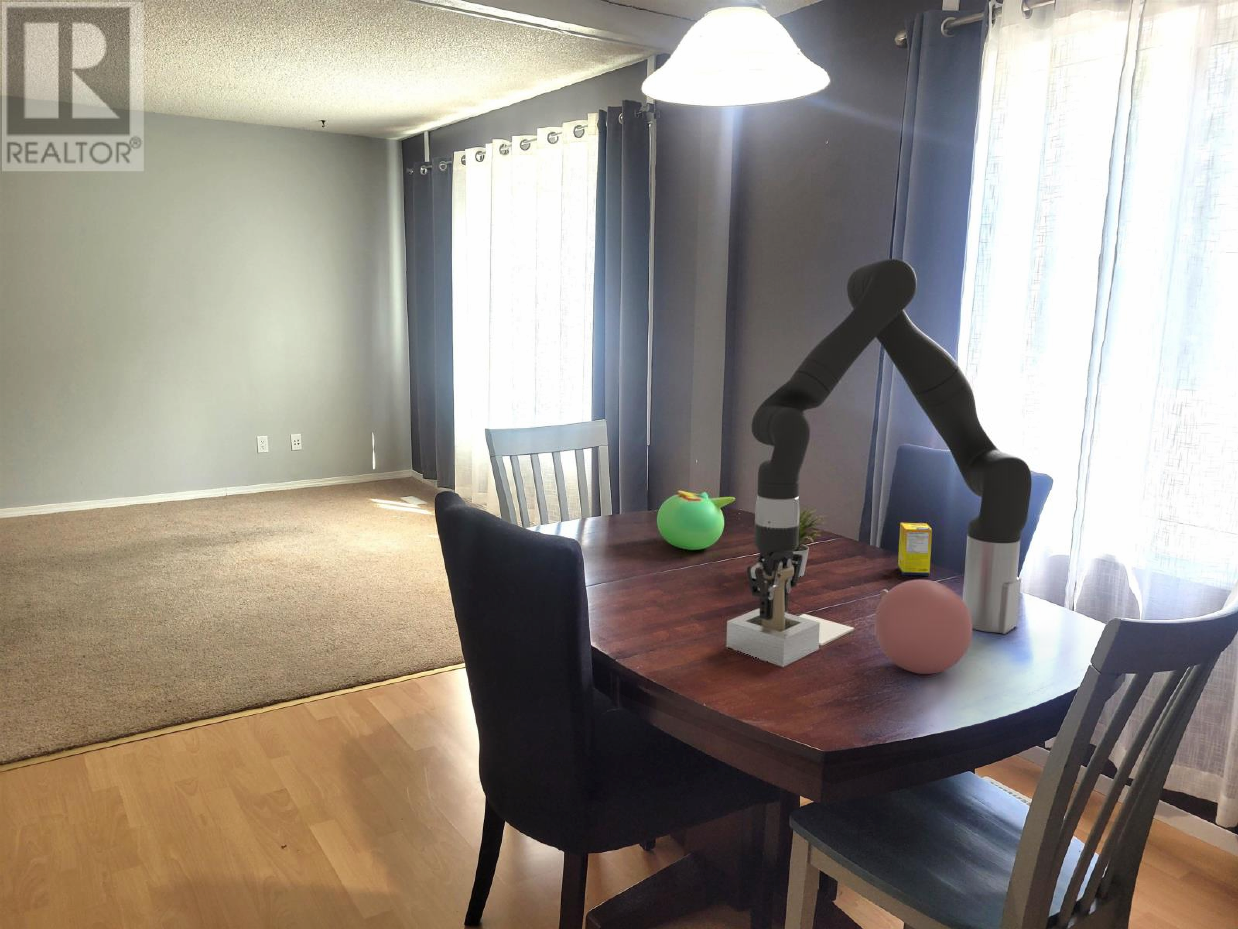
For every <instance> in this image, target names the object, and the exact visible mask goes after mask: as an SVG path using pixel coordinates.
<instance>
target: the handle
mask: <svg viewBox="0 0 1238 929" xmlns="http://www.w3.org/2000/svg"><path fill="white" fill-rule="evenodd" d="M763 573H765V571H764V570H763ZM773 574H774V571H773ZM773 574H772V576H768V575H767V574H766V573H765V576H764V579H765V580H767V581H772V579H773ZM778 574H779V578H778V580H779V581H778V586H777V587H775V589H774V595H773V618H772V619H771V620H766V619H762V626H763V627H766V628H769V629H772V630H776V631H779V632H782V631H784V628H785V601H784V585H785V580H786V579H788V578H790V577H792V576H793V575H794V567H793V566H791V567H789V568H782V570H781V571H778ZM768 588H769V586H768V585H766V590H767V592H768Z"/></svg>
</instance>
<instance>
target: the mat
mask: <svg viewBox="0 0 1238 929" xmlns="http://www.w3.org/2000/svg"><path fill="white" fill-rule="evenodd" d="M798 616H799V617H802V618H806V619H809V620H813V621H816V622H820V630H819V646H824V645H826V644H829V643H830V642H832V641H835V640H836V639H837V640H838V639H839V638H840V637H843V636H844V635H848V634H849V633H851V632H853V631H854V630H855V627H852V626H848V625H845V624H842V623H839V622H834V621H831V620H827V619H823V618H821V617H817V616H813V615H809V614H806V613H803V614H800V615H798Z"/></svg>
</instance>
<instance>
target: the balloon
mask: <svg viewBox="0 0 1238 929" xmlns="http://www.w3.org/2000/svg"><path fill="white" fill-rule="evenodd" d="M879 592H880V594H879V595H878V597H877V598H878V601H879V604H878V605H877V608H876V611H875V614H874V619H873V620H874V622H873V626H874V628H873V629H874V634H875V638H876V642H877V643H878V646H879V647H880V650H882V652H883V653H884V655H885V656H886V657H887V658H888V659H889V660H890V661H891V662H892V663H893V664H895V665H896V666H898V667H900V668H902V669H904V670H905V671H908V672H911V673H914V674H915V673H916V674H920V675H929V674H938V673H940V672H944V671H946V670H949V669H950V668H952V667H954V666H955V665H956V664H957V663H958V662H960V661H961V660H962V659H963V657H964V656H965V654H967V652H968V649H969V647H970V645H971V641H972V637H973V628H972V621H971V617H970V614H969V611H968V609H967V607H966V605H965V604H964V602H963V598H961V597H960V596H959V595H958V594H957V593H956V592H955V591H954V590H953V589H951V588H950V587H948V586H946V585H944V584H942V583H941V582H938V581H934V580H929V579H913V580H912V579H911V580H906V581H904V582H901V583H899V584H897V585H896V586H894V587H892V588H891V589H890V590H887V589H886V588H885V589H881V590H880V591H879Z"/></svg>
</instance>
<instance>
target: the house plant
mask: <svg viewBox="0 0 1238 929" xmlns="http://www.w3.org/2000/svg"><path fill="white" fill-rule="evenodd" d="M808 507H809V505H806V506H805V508H804V509H803V510H802V511H801V512H800V513H799V537H798V547H797V549H795V550H793V553H797V554H800V555H802V556H803V558H802V563H801V567H800V572H799V576H798V578H801V577H803V576H804V574H805V571H806V565H807V560H808V557H809V556H808V554H809V552H810V551H809V550H810V547H809V546H807V545H805V544H804V543H805V542H806V541H807V540H810V541H811V542H812V543H813V544H814V539H813V537H817V536H819V537H821V535H820V534H821V533H820V530H813V529H812V530H807V529H809V528H813V527H816V526H819V525H825V524H827V522H816V521H822V520H824V519H822V518H821V517H824V515H820V516H816V517H814V518H812V515H813V514H814V513H815V512H816V511H817V509H813V510H811V511H810V512H808V513H807V514H806V512H807V510H808V509H809V508H808ZM805 514H806V515H805ZM827 517H830V515H827ZM793 566H794V565H793ZM800 576H801V577H800Z"/></svg>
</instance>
